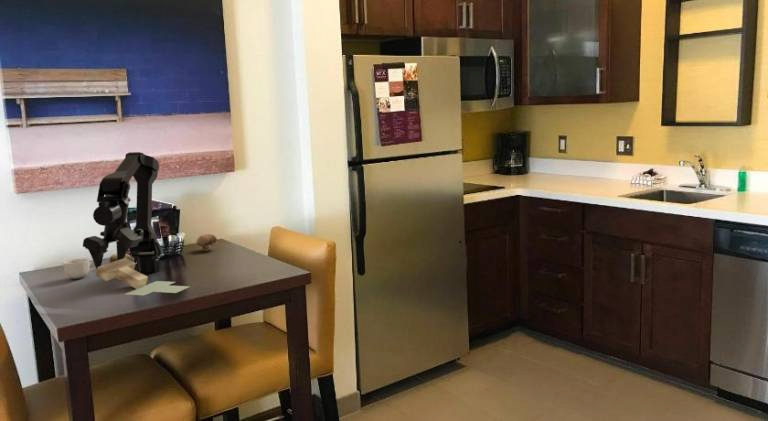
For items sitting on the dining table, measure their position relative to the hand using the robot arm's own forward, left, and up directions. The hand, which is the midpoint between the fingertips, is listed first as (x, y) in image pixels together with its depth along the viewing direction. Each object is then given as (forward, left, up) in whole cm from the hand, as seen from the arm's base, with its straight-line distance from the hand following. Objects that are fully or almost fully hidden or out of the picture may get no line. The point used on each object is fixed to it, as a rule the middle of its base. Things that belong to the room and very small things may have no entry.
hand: (108, 265), depth 190 cm
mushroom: (+1, +52, -7) cm, 52 cm away
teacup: (-20, +9, -7) cm, 23 cm away
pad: (+19, 0, -6) cm, 20 cm away
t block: (+6, 0, -4) cm, 7 cm away
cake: (-17, +26, -7) cm, 32 cm away
